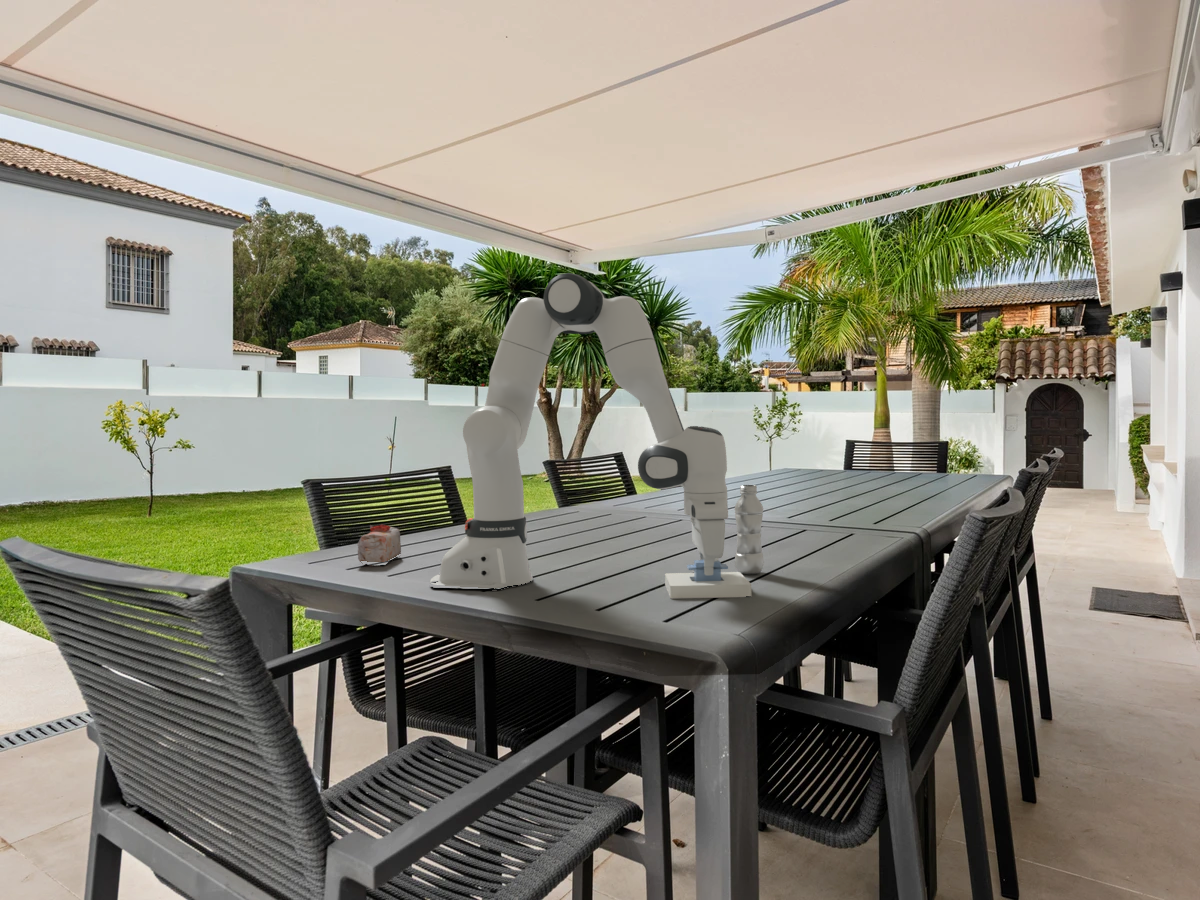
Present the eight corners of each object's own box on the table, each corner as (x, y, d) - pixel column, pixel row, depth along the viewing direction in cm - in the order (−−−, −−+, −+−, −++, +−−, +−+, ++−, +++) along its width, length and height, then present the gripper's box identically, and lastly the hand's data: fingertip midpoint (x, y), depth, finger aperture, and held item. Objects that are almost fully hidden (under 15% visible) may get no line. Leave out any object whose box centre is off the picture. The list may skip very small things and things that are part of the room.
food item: (387, 567, 187) (386, 528, 187) (355, 568, 188) (354, 528, 187) (403, 557, 201) (402, 520, 201) (374, 557, 201) (373, 521, 201)
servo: (689, 582, 154) (688, 560, 154) (687, 579, 157) (686, 557, 157) (728, 581, 154) (727, 559, 154) (725, 578, 157) (725, 556, 157)
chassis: (670, 598, 149) (670, 586, 149) (665, 585, 161) (664, 573, 161) (751, 596, 149) (751, 584, 149) (740, 583, 161) (739, 571, 161)
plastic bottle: (729, 574, 171) (727, 486, 170) (745, 569, 176) (744, 483, 175) (753, 577, 167) (752, 487, 166) (769, 572, 172) (768, 485, 171)
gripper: (684, 500, 165) (685, 563, 166) (696, 512, 145) (698, 583, 145) (713, 499, 165) (714, 562, 166) (729, 511, 145) (731, 582, 145)
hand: (706, 572), depth 155 cm, fingers closed on servo, 3 cm apart
